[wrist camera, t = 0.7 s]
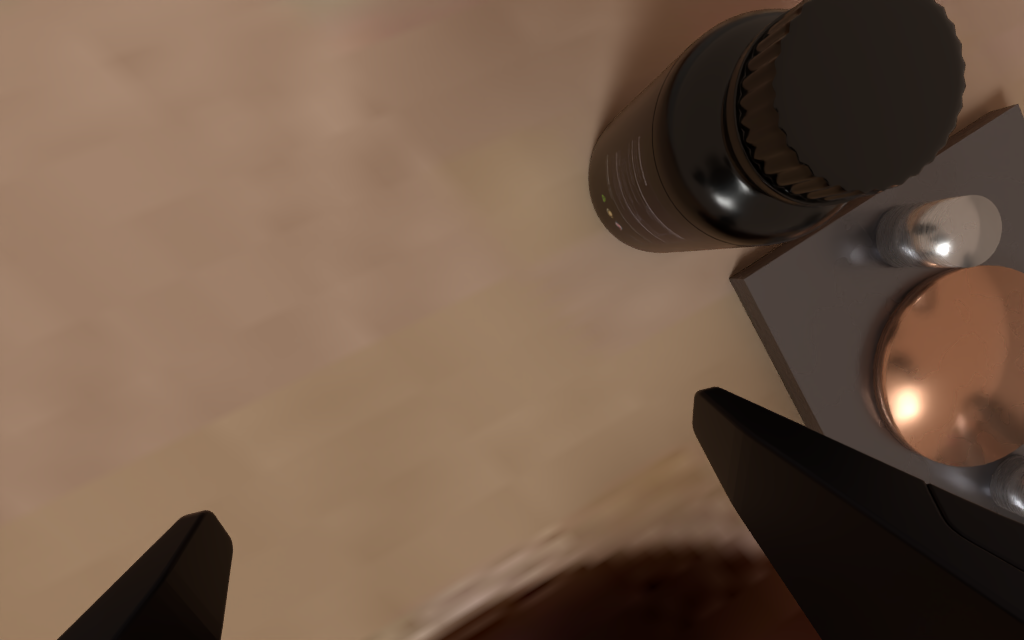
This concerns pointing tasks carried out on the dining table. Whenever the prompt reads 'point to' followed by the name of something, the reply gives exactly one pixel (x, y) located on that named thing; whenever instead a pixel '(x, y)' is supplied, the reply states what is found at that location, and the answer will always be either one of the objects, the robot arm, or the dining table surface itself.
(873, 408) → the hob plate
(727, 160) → the supplement bottle
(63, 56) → the dining table surface
